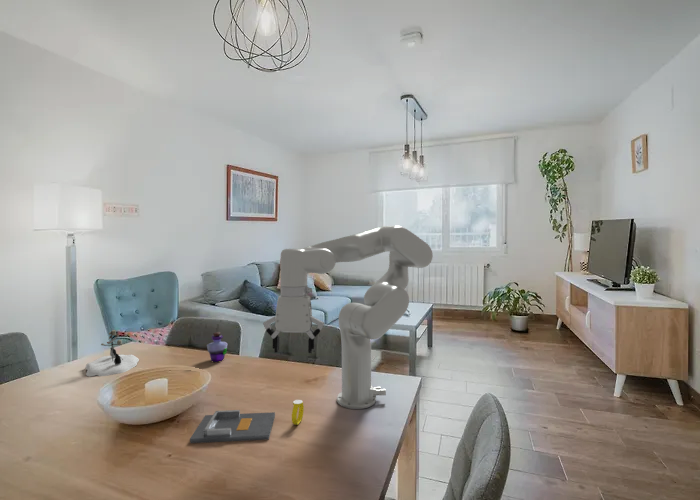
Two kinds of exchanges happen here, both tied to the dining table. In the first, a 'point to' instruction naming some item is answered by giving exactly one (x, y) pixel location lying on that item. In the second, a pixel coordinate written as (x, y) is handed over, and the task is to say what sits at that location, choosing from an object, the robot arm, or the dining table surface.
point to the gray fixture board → (233, 427)
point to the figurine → (111, 361)
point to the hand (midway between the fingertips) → (293, 351)
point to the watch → (294, 413)
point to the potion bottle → (217, 348)
